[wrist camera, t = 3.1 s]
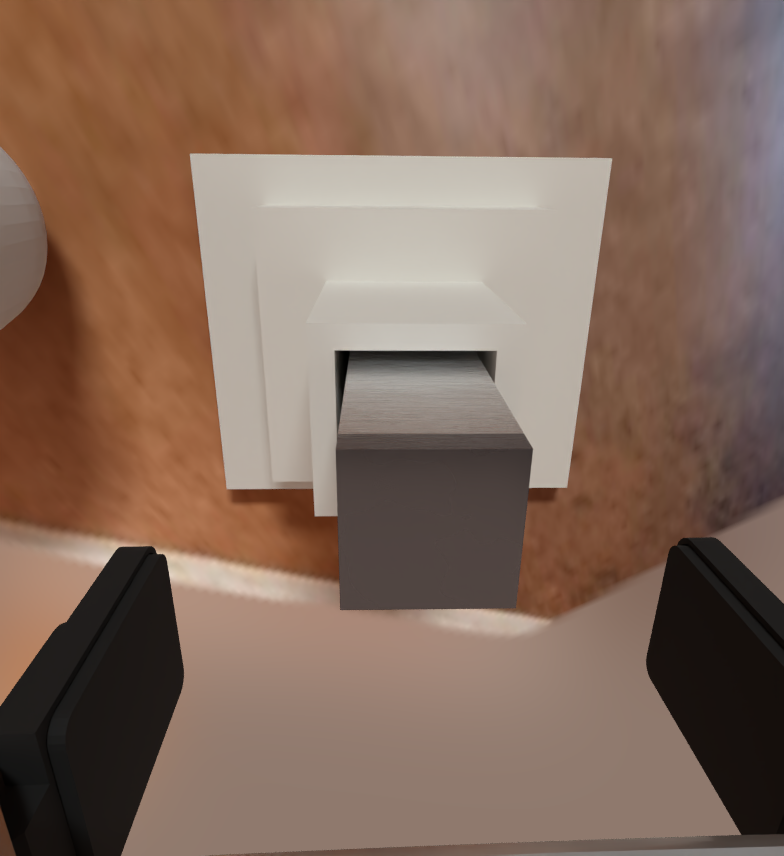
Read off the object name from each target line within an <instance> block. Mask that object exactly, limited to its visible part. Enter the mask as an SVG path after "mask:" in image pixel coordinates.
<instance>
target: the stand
mask: <svg viewBox="0 0 784 856" xmlns="http://www.w3.org/2000/svg"><path fill="white" fill-rule="evenodd" d="M190 159H191V168H192V177H193V186H194V195H195V204H196V214H197V223H198V232H199V241H200V250H201V259H202V268H203V277H204V286H205V295H206V304H207V313H208V322H209V331H210V341H211V350H212V359H213V368H214V377H215V386H216V395H217V404H218V413H219V422H220V431H221V440H222V449H223V458H224V468H225V477H226V486H227V489H313V490H314V512H315V516H338V513H337V480H336V443H337V436H338V430H339V423H340V416H341V409H342V403H343V396H344V389H345V382H346V375H347V369H348V362H349V355H350V350H353V351H476V353H477V355H478V356H479V358H480V360H481V362H482V363H483V365H484V367H485V368H486V370H487V372H488V373H489V375H490V377H491V378H492V380H493V382H494V384H495V385H496V387H497V389H498V390H499V392H500V394H501V395H502V397H503V399H504V400H505V402H506V404H507V406H508V407H509V409H510V411H511V412H512V414H513V416H514V417H515V419H516V421H517V422H518V424H519V426H520V428H521V429H522V431H523V433H524V434H525V436H526V438H527V439H528V441H529V443H530V444H531V446H532V448H533V455H532V464H531V473H530V483H529V488H567V483H568V476H569V469H570V462H571V454H572V447H573V440H574V433H575V425H576V418H577V411H578V403H579V396H580V389H581V382H582V374H583V367H584V360H585V352H586V345H587V338H588V331H589V323H590V316H591V309H592V301H593V294H594V287H595V280H596V272H597V265H598V258H599V251H600V243H601V236H602V229H603V221H604V214H605V207H606V200H607V192H608V185H609V178H610V170H611V163H612V158H541V157H449V156H357V155H265V154H190Z"/></svg>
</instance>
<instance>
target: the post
mask: <svg viewBox="0 0 784 856" xmlns="http://www.w3.org/2000/svg"><path fill="white" fill-rule="evenodd" d="M532 455H533V448H532V446H531V444H530V443H529V441H528V439H527V438H526V436H525V434H524V433H523V431H522V429H521V428H520V426H519V424H518V422H517V421H516V419H515V417H514V416H513V414H512V412H511V411H510V409H509V407H508V406H507V404H506V402H505V400H504V399H503V397H502V395H501V394H500V392H499V390H498V389H497V387H496V385H495V384H494V382H493V380H492V378H491V377H490V375H489V373H488V372H487V370H486V368H485V367H484V365H483V363H482V362H481V360H480V358H479V356H478V355H477V353H476V351H353V350H350V355H349V362H348V369H347V375H346V382H345V389H344V396H343V403H342V409H341V416H340V423H339V430H338V436H337V443H336V480H337V513H338V547H339V580H340V610H391V609H488V608H516V601H517V592H518V583H519V574H520V565H521V555H522V546H523V537H524V528H525V519H526V510H527V501H528V492H529V483H530V473H531V464H532Z"/></svg>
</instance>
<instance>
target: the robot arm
mask: <svg viewBox="0 0 784 856" xmlns="http://www.w3.org/2000/svg"><path fill="white" fill-rule="evenodd" d="M646 665H647V671H648V674H649V677H650V679H651V681H652V683H653V684H654V686H655V688H656V689H657V691H658V693H659V695H660V696H661V698H662V700H663V701H664V703H665V705H666V706H667V708H668V710H669V711H670V713H671V715H672V717H673V718H674V720H675V722H676V723H677V725H678V727H679V729H680V730H681V732H682V734H683V736H684V737H685V739H686V740H687V742H688V744H689V745H690V748H691V749H692V751H693V752H694V754H695V756H696V758H697V760H698V761H699V763H700V765H701V766H702V768H703V770H704V771H705V773H706V775H707V777H708V778H709V780H710V782H711V783H712V785H713V787H714V789H715V790H716V792H717V793H718V795H719V797H720V799H721V800H722V802H723V804H724V806H725V807H726V809H727V811H728V812H729V814H730V816H731V818H732V819H733V821H734V822H735V825H736V826H737V828H738V830H739V831H740V833H741V835H729V836H697V837H668V838H667V837H665V838H635V839H602V840H573V841H545V842H518V843H490V844H465V845H439V846H414V847H387V848H364V849H341V850H318V851H296V852H274V853H251V854H229V855H228V854H227V855H209V856H784V604H783V603H782V602H781V601H780V600H779V599H778V598H777V597H776V596H775V595H774V594H773V593H772V592H771V591H770V590H769V589H768V588H767V587H766V586H765V585H764V584H763V583H762V582H761V581H760V580H759V579H758V578H757V577H756V576H755V575H754V574H753V573H752V572H751V571H750V570H749V569H748V568H747V567H746V566H745V565H744V564H743V563H742V562H741V561H740V560H739V559H738V558H737V557H736V556H735V555H734V554H733V553H732V552H731V551H730V550H729V549H728V548H726V546H724V545H723V544H722V543H721V542H720V541H719V540H718V539H716V538H712V537H710V538H683V539H681V540H680V541H679V542H678V545H677V546H673V547H671V549H670V551H669V554H668V558H667V563H666V568H665V572H664V577H663V582H662V587H661V591H660V596H659V601H658V605H657V610H656V615H655V620H654V624H653V629H652V634H651V638H650V643H649V648H648V653H647V659H646ZM183 679H184V668H183V662H182V655H181V649H180V642H179V636H178V630H177V623H176V616H175V610H174V604H173V597H172V591H171V584H170V578H169V572H168V565H167V560H166V557H165V555H163V554H157V553H156V550H155V549H154V547H152V546H144V547H119V548H118V549H117V550H116V551H115V553H114V554H113V556H112V557H111V558H110V560H109V561H108V563H107V564H106V566H105V567H104V569H103V570H102V571H101V573H100V574H99V576H98V577H97V579H96V580H95V582H94V583H93V584H92V586H91V587H90V589H89V590H88V592H87V593H86V595H85V596H84V598H83V599H82V600H81V602H80V603H79V605H78V606H77V608H76V609H75V610H74V612H73V613H72V615H71V616H70V618H69V619H68V621H67V622H65V623H63V624H61V625H59V626H58V627H57V628H56V629H55V630H54V631H53V633H52V634H51V636H50V637H49V638H48V640H47V641H46V643H45V644H44V645H43V647H42V648H41V650H40V651H39V652H38V654H37V655H36V657H35V658H34V659H33V661H32V662H31V664H30V665H29V667H28V668H27V669H26V671H25V672H24V674H23V675H22V676H21V678H20V679H19V681H18V682H17V684H16V685H15V686H14V688H13V689H12V691H11V692H10V694H9V695H8V696H7V698H6V699H5V701H4V702H3V703H2V705H1V706H0V856H121V854H122V851H123V848H124V845H125V843H126V840H127V837H128V835H129V832H130V829H131V826H132V824H133V821H134V818H135V815H136V813H137V810H138V807H139V805H140V802H141V799H142V797H143V794H144V791H145V788H146V786H147V783H148V780H149V777H150V775H151V772H152V769H153V766H154V764H155V761H156V758H157V755H158V753H159V750H160V747H161V745H162V742H163V739H164V737H165V734H166V731H167V729H168V726H169V723H170V720H171V718H172V715H173V712H174V709H175V707H176V704H177V701H178V699H179V696H180V693H181V690H182V685H183Z"/></svg>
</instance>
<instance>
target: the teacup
mask: <svg viewBox="0 0 784 856" xmlns="http://www.w3.org/2000/svg"><path fill="white" fill-rule="evenodd" d="M47 247H48V246H47V233H46V227H45V222H44V218H43V214H42V211H41V208H40V205H39V202H38V200H37V198H36V195H35V193H34V191H33V189H32V187H31V186H30V184H29V182H28V180H27V179H26V177H25V176H24V174H23V173H22V171H21V170H20V169H19V167H18V166H17V165H16V163H15V162H14V161H13V160H12V159H11V158H10V156H9V155H8V154H7V153H6V152H5V151H4V150H3V149H2V148H1V147H0V330H1V329H2V328H4V327H5V326H6V325H7V324H8V323H10V322H11V321H12V320H13V319H14V318H15V317H17V316H18V315H19V314H20V313H21V312H22V311H23V310H24V309H25V308H26V306H27V305H28V304H29V303H30V301H31V300H32V298H33V297H34V295H35V294H36V292H37V290H38V288H39V287H40V284H41V281H42V279H43V276H44V272H45V267H46V263H47Z"/></svg>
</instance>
